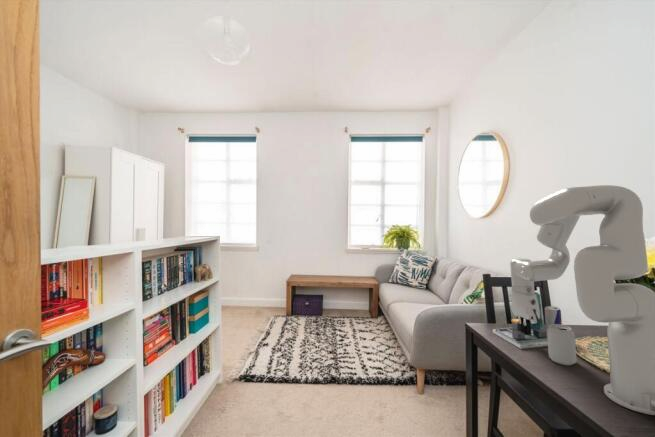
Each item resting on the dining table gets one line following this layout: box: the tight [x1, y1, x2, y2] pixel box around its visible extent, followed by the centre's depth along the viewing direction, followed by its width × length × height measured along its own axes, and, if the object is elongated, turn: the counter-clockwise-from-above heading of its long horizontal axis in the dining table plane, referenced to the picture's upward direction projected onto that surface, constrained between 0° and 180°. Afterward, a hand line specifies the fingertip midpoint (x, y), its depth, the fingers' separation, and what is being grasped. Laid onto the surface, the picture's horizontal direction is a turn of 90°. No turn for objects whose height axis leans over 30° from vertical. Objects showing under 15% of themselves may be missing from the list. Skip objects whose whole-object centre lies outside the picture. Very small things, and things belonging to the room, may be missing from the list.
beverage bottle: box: [531, 284, 544, 330], centre depth 125 cm, size 6×7×20 cm
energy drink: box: [544, 305, 563, 336], centre depth 117 cm, size 5×5×12 cm
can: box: [546, 324, 578, 366], centre depth 98 cm, size 8×8×12 cm
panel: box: [492, 326, 548, 350], centre depth 117 cm, size 16×14×4 cm
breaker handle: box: [511, 318, 521, 331], centre depth 119 cm, size 3×3×5 cm
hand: (526, 333), depth 115 cm, fingers closed
